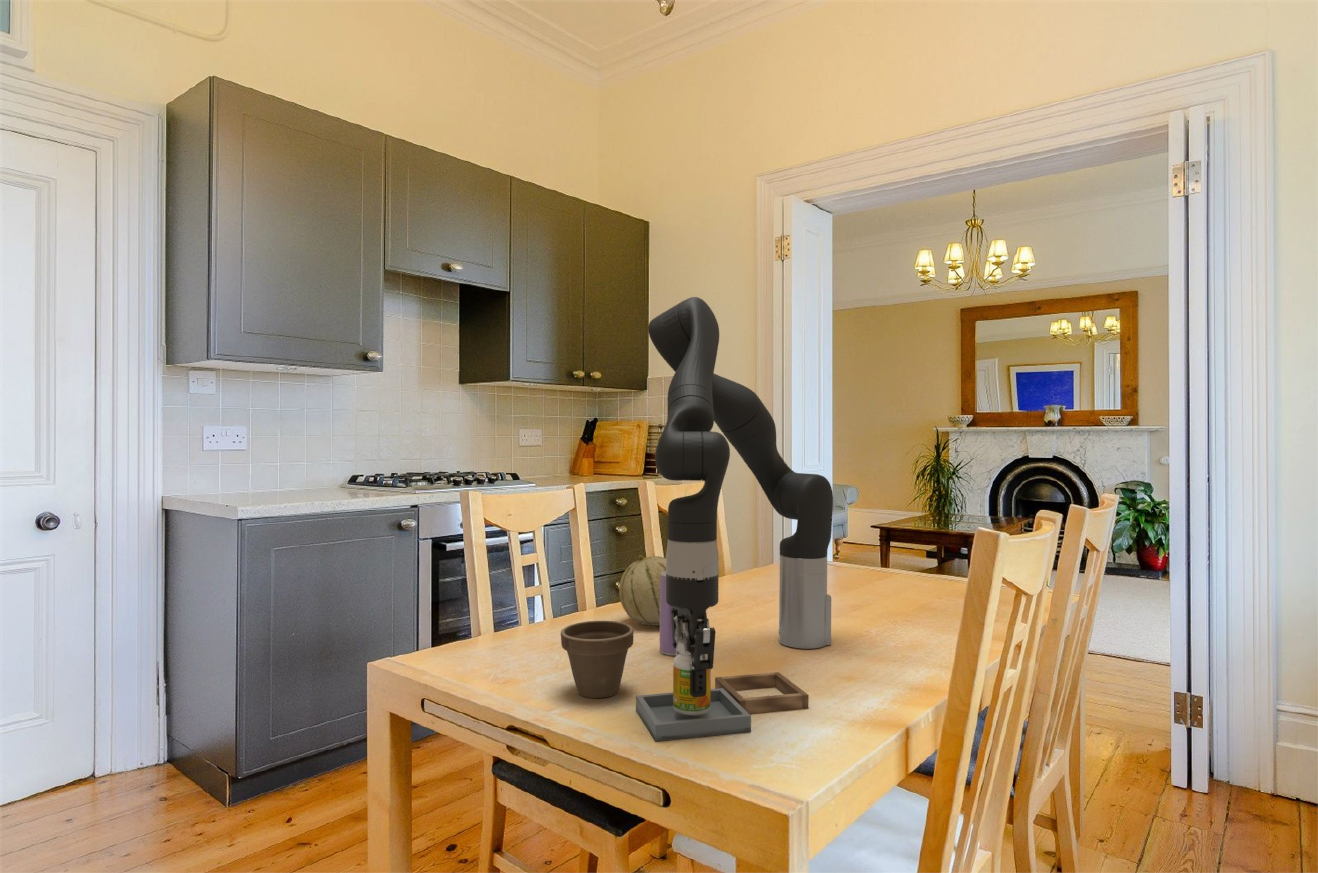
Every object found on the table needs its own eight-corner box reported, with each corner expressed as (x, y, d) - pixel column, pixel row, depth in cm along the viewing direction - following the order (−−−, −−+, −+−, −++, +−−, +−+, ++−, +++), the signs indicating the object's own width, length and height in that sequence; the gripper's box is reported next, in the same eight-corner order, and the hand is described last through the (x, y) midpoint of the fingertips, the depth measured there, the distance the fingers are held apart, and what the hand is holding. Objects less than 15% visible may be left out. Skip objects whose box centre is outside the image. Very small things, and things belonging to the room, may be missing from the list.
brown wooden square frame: (778, 684, 124) (778, 672, 124) (808, 708, 114) (808, 694, 114) (715, 689, 122) (715, 677, 122) (739, 714, 111) (739, 701, 111)
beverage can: (688, 657, 139) (688, 576, 139) (656, 655, 140) (656, 574, 140) (693, 648, 145) (693, 570, 144) (662, 646, 146) (663, 568, 146)
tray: (722, 702, 116) (722, 688, 116) (750, 731, 105) (751, 715, 105) (636, 710, 112) (636, 695, 112) (655, 741, 101) (655, 725, 101)
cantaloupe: (701, 626, 161) (701, 556, 161) (643, 637, 153) (643, 562, 152) (661, 612, 173) (662, 547, 173) (606, 621, 165) (606, 552, 165)
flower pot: (572, 709, 113) (572, 642, 113) (552, 686, 123) (552, 624, 123) (644, 699, 117) (644, 634, 117) (618, 677, 128) (619, 617, 128)
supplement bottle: (675, 717, 106) (675, 647, 106) (671, 703, 111) (671, 636, 111) (713, 715, 106) (713, 646, 106) (707, 702, 112) (707, 636, 111)
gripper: (654, 563, 114) (654, 675, 115) (681, 582, 101) (680, 709, 101) (701, 561, 116) (701, 671, 116) (734, 579, 102) (734, 704, 103)
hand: (691, 688), depth 109 cm, fingers closed on supplement bottle, 5 cm apart
